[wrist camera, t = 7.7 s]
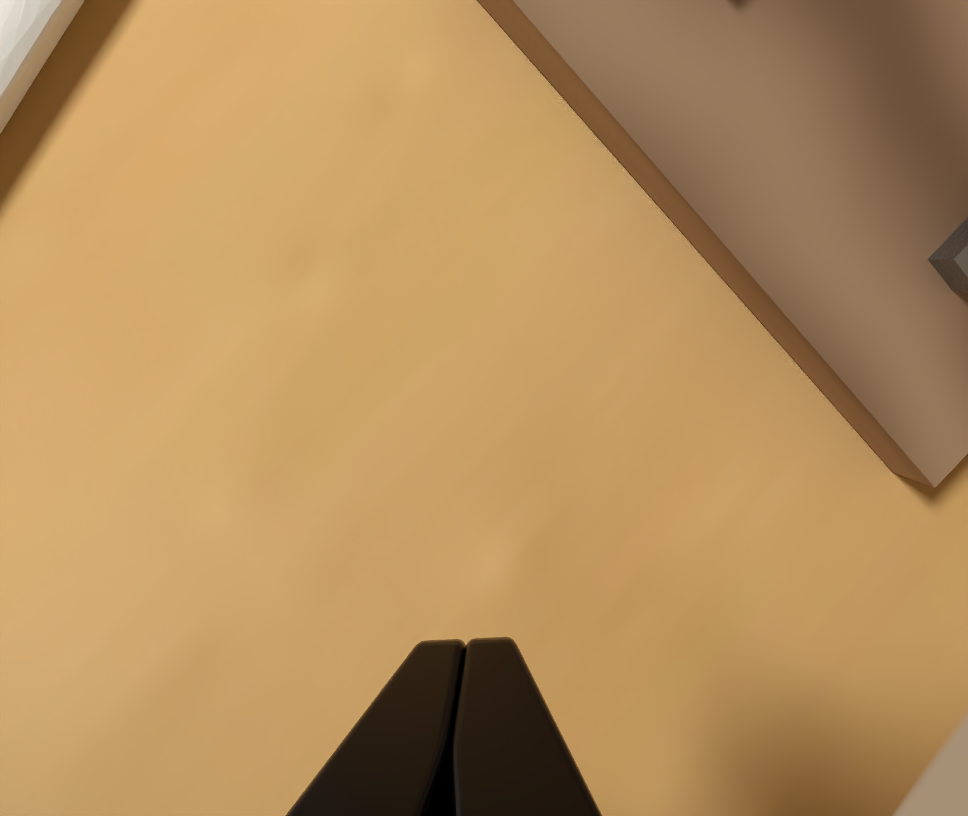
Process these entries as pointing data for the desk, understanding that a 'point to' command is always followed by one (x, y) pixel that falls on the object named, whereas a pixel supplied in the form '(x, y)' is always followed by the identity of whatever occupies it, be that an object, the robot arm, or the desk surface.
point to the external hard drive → (28, 44)
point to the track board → (799, 177)
